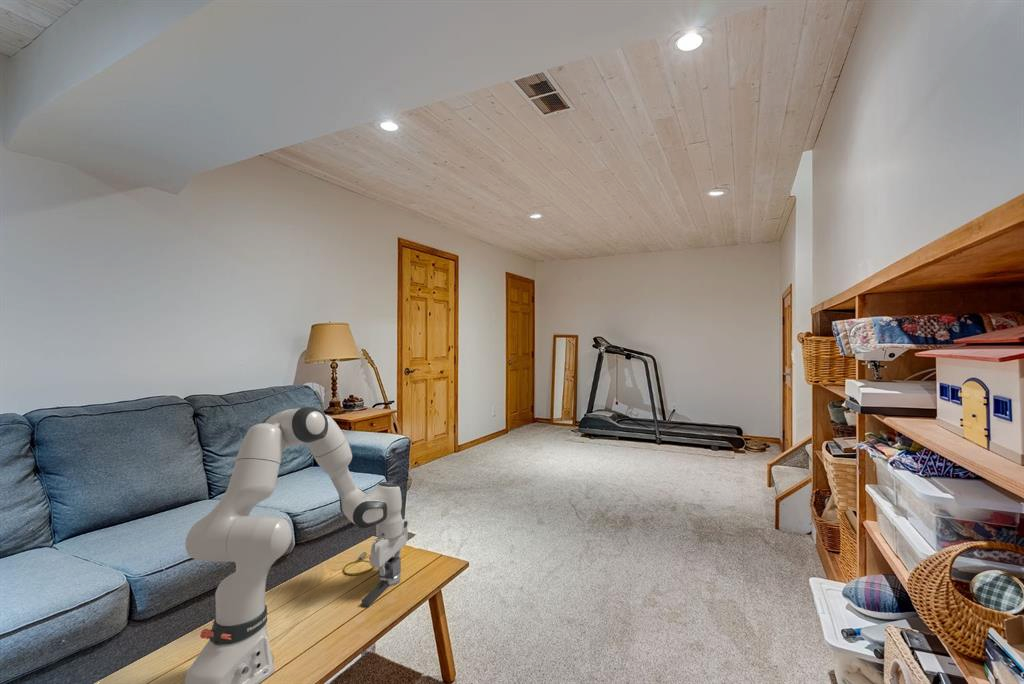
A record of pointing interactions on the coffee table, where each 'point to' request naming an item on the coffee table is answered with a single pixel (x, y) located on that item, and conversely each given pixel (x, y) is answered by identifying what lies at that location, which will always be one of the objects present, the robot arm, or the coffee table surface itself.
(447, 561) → the coffee table surface
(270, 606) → the coffee table surface
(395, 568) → the socket
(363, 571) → the extension cord
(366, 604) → the ratchet
